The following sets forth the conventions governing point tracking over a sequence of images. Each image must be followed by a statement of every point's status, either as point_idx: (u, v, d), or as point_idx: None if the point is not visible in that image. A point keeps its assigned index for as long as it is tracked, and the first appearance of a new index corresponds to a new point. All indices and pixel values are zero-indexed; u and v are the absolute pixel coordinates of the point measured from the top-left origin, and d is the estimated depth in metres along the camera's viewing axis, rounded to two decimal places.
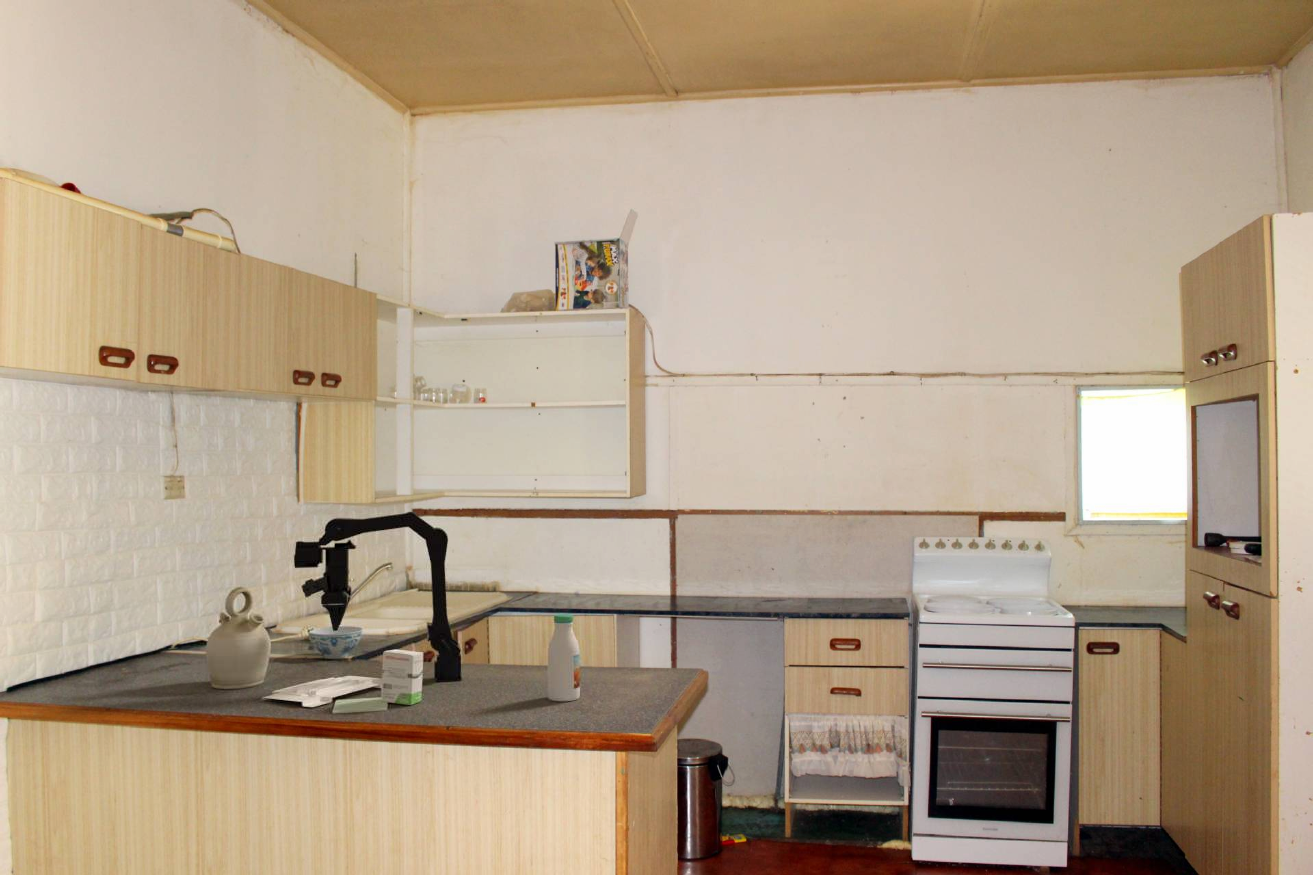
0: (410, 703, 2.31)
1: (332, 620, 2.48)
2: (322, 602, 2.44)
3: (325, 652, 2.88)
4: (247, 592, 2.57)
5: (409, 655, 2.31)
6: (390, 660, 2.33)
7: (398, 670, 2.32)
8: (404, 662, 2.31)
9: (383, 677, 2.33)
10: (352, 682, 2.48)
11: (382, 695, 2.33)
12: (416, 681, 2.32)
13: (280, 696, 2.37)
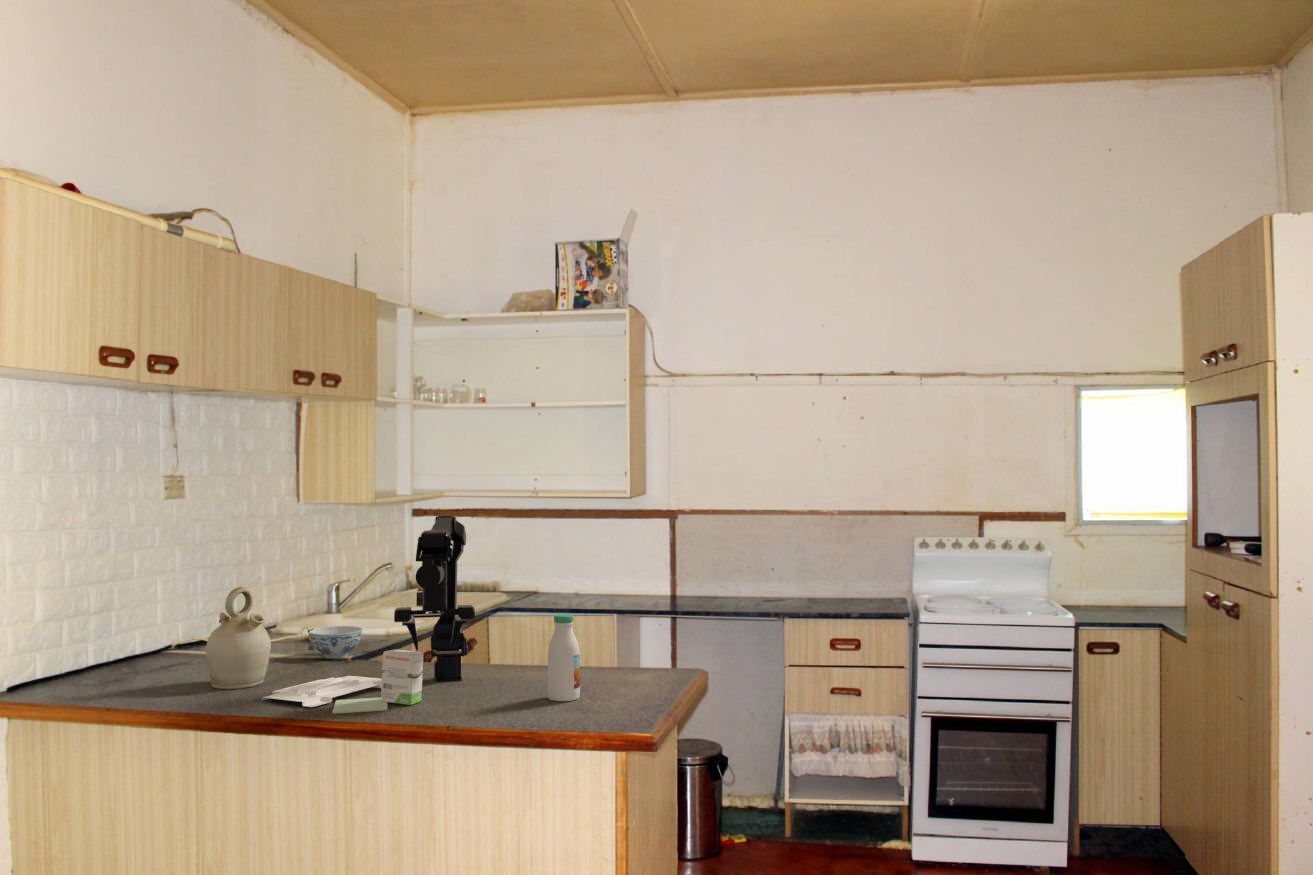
0: (410, 703, 2.31)
1: None
2: None
3: (325, 652, 2.88)
4: (247, 592, 2.57)
5: (409, 655, 2.31)
6: (390, 660, 2.33)
7: (398, 670, 2.32)
8: (404, 662, 2.31)
9: (383, 677, 2.33)
10: (352, 682, 2.48)
11: (382, 695, 2.33)
12: (416, 681, 2.32)
13: (280, 696, 2.37)
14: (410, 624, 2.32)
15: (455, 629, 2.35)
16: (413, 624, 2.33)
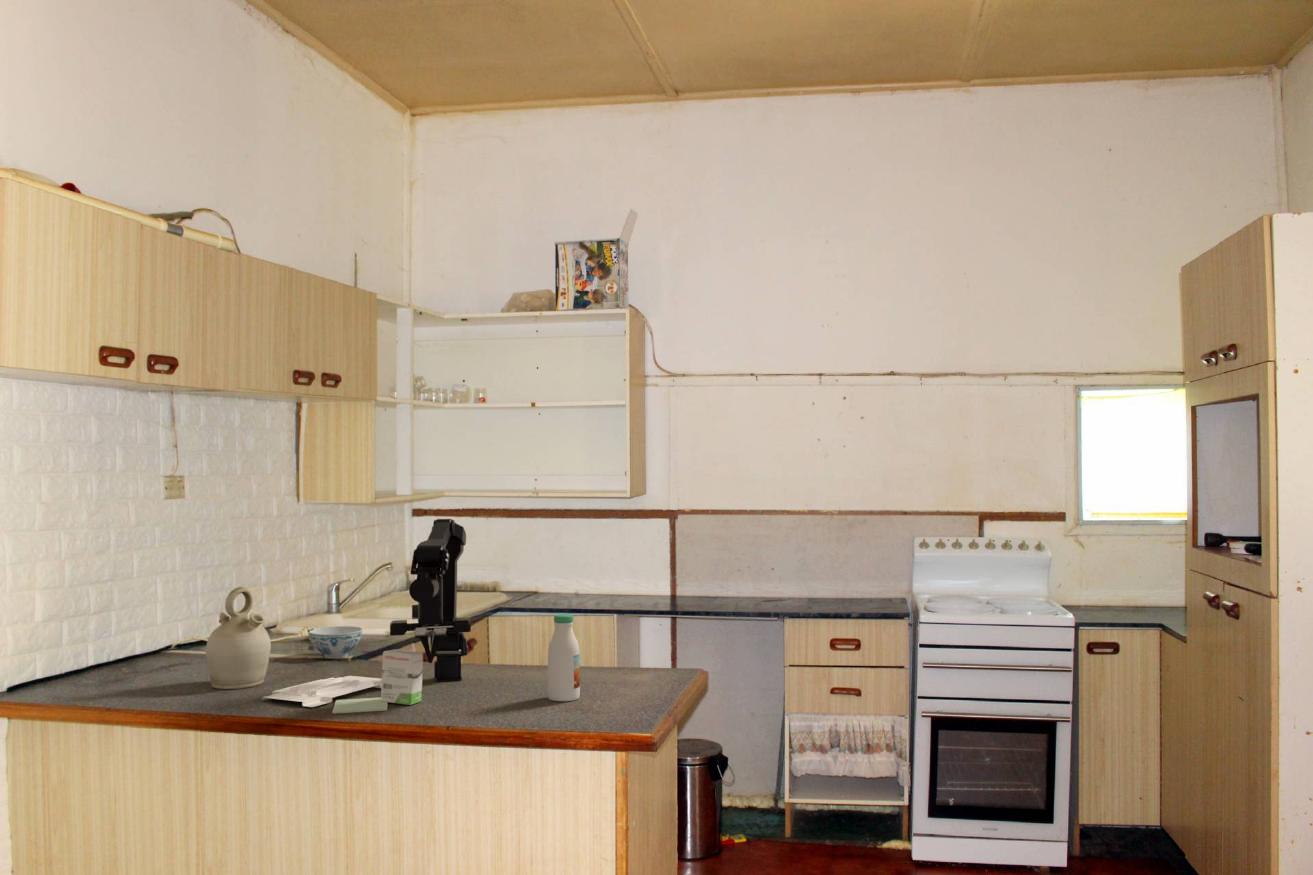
0: (410, 703, 2.31)
1: None
2: None
3: (325, 652, 2.88)
4: (247, 592, 2.57)
5: (409, 655, 2.31)
6: (390, 660, 2.33)
7: (398, 670, 2.32)
8: (404, 662, 2.31)
9: (383, 677, 2.33)
10: (352, 682, 2.48)
11: (382, 695, 2.33)
12: (416, 681, 2.32)
13: (280, 696, 2.37)
14: (423, 637, 2.33)
15: (434, 643, 2.34)
16: (426, 637, 2.33)
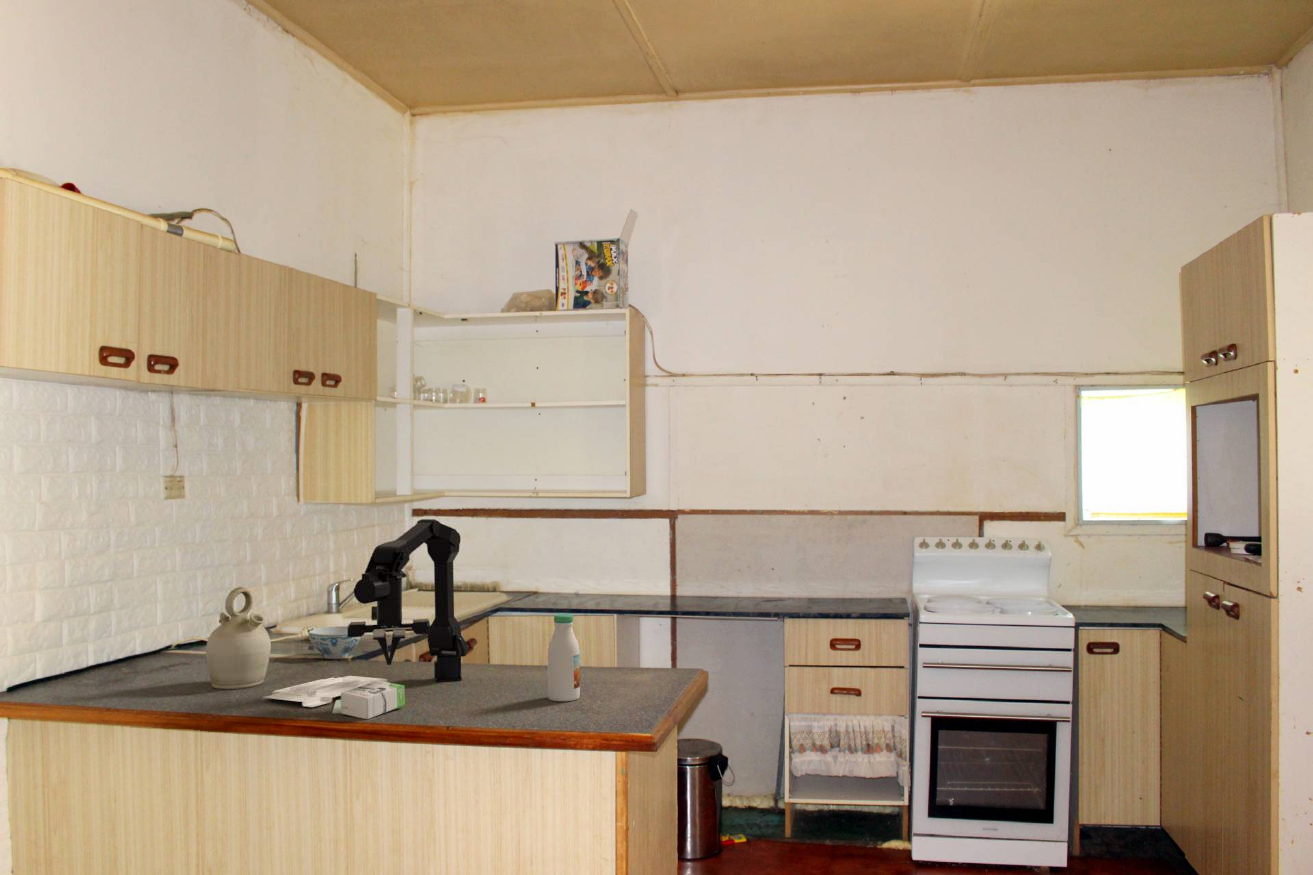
0: (403, 704, 2.28)
1: None
2: None
3: (325, 652, 2.88)
4: (247, 592, 2.57)
5: None
6: None
7: None
8: None
9: None
10: (352, 682, 2.48)
11: None
12: (389, 703, 2.24)
13: (280, 696, 2.37)
14: (381, 638, 2.30)
15: (393, 645, 2.32)
16: (384, 638, 2.31)
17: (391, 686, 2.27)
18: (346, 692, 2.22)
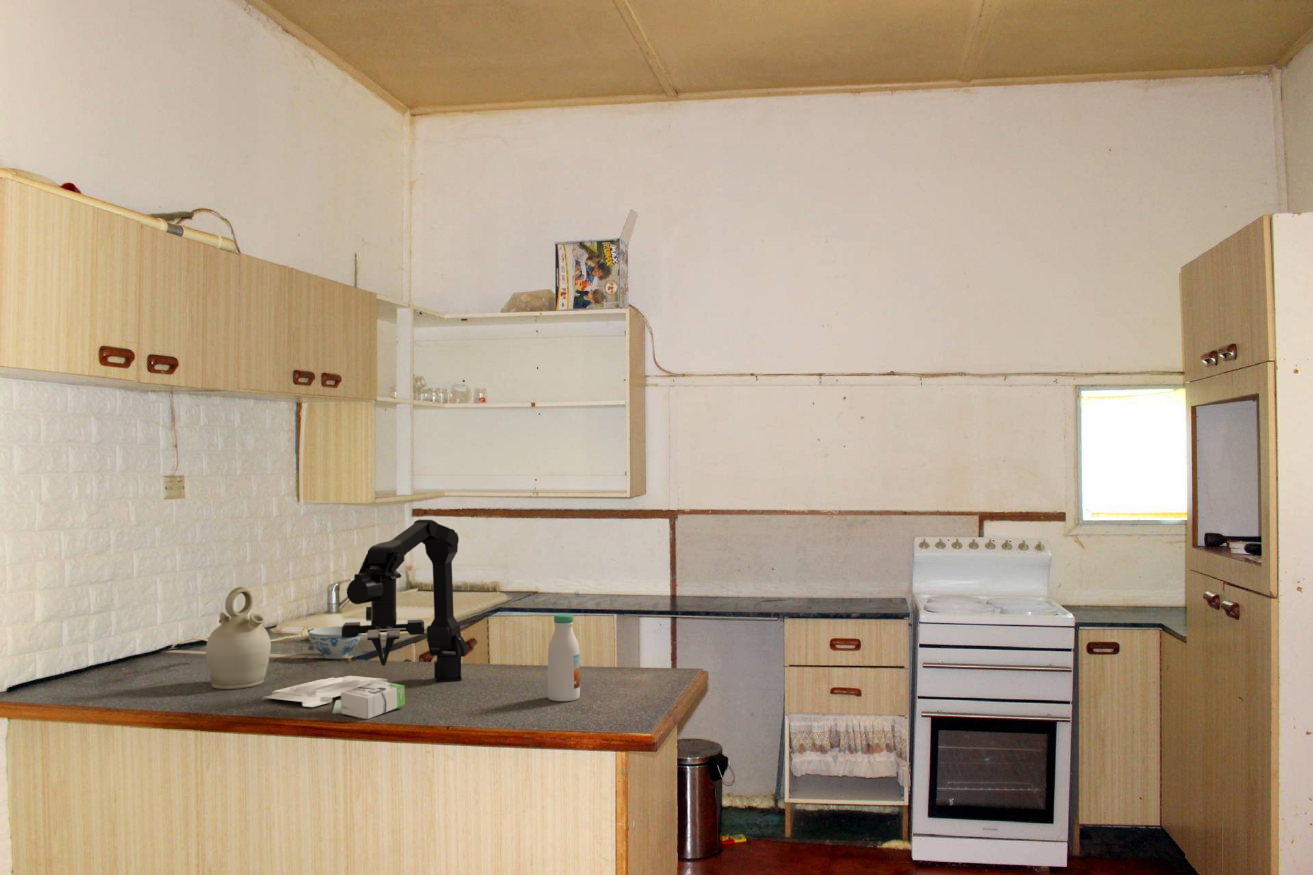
0: (403, 705, 2.28)
1: None
2: None
3: (325, 652, 2.88)
4: (247, 592, 2.57)
5: None
6: None
7: None
8: None
9: None
10: (352, 682, 2.48)
11: None
12: (389, 703, 2.24)
13: (280, 696, 2.37)
14: (375, 639, 2.30)
15: (387, 645, 2.31)
16: (378, 639, 2.30)
17: (391, 686, 2.27)
18: (346, 692, 2.22)
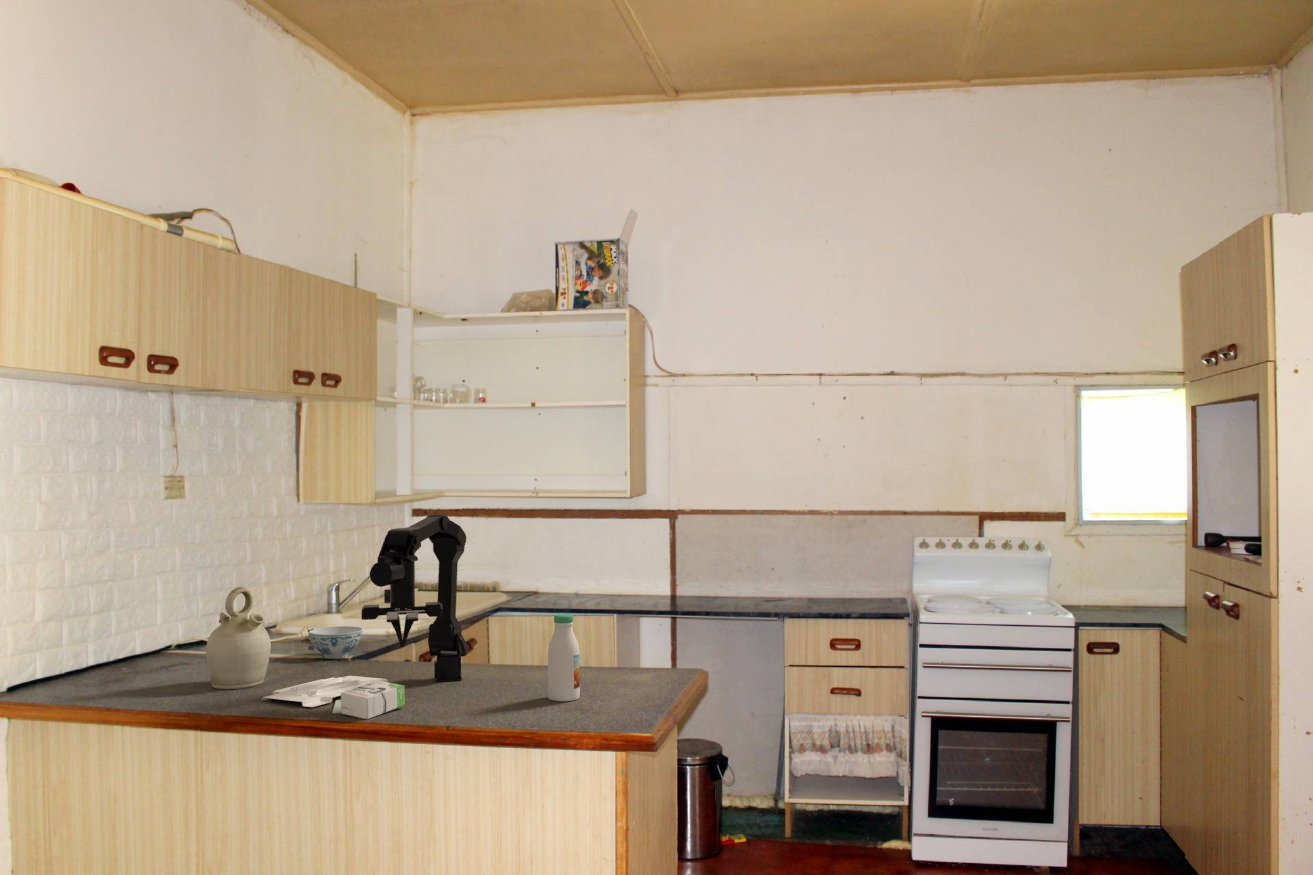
0: (403, 705, 2.28)
1: None
2: None
3: (325, 652, 2.88)
4: (247, 592, 2.57)
5: None
6: None
7: None
8: None
9: None
10: (352, 682, 2.48)
11: None
12: (389, 703, 2.24)
13: (280, 696, 2.37)
14: (395, 621, 2.33)
15: (406, 627, 2.34)
16: (398, 621, 2.33)
17: (391, 686, 2.27)
18: (346, 692, 2.22)
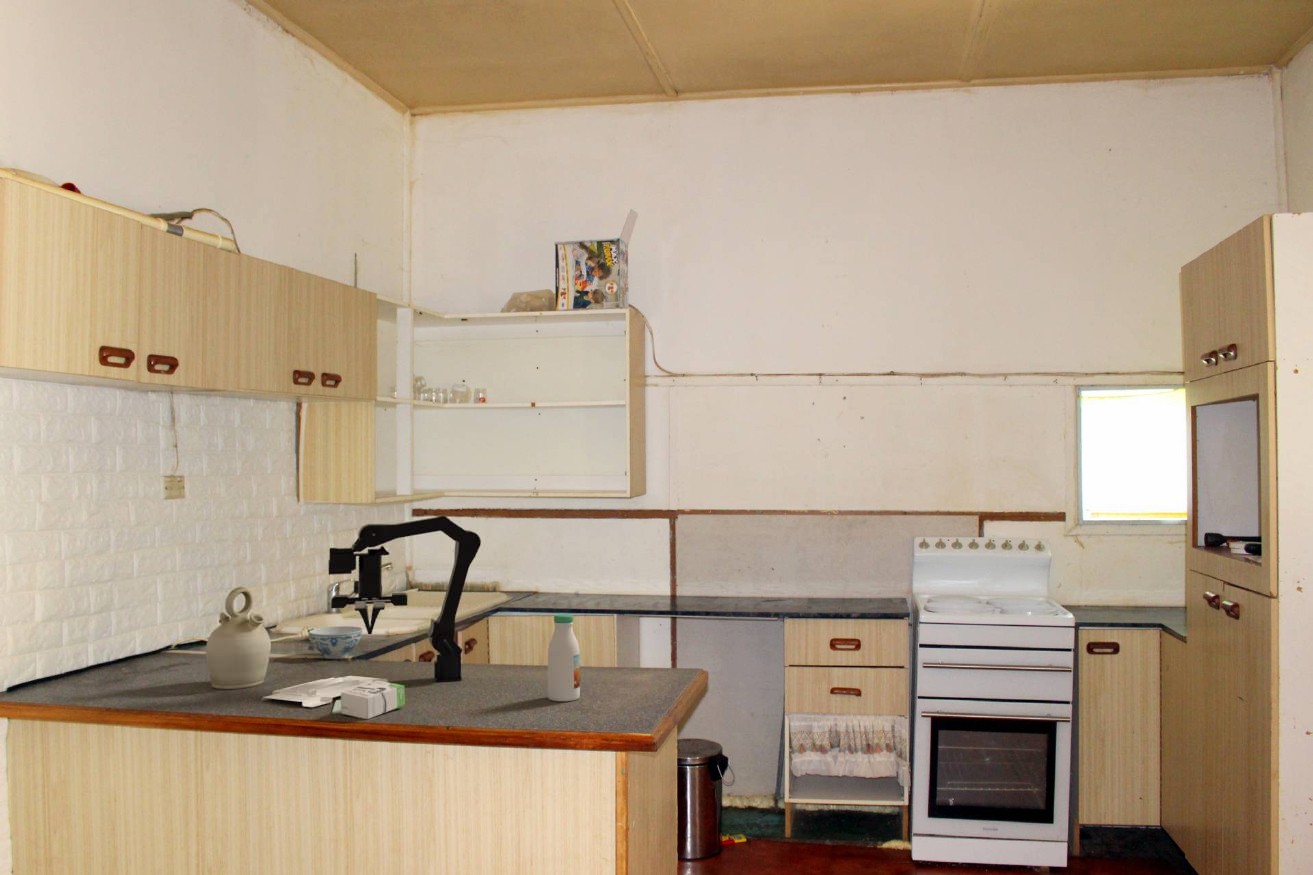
0: (403, 705, 2.28)
1: None
2: None
3: (325, 652, 2.88)
4: (247, 592, 2.57)
5: None
6: None
7: None
8: None
9: None
10: (352, 682, 2.48)
11: None
12: (389, 703, 2.24)
13: (280, 696, 2.37)
14: (362, 609, 2.51)
15: (373, 615, 2.52)
16: (365, 609, 2.51)
17: (391, 686, 2.27)
18: (346, 692, 2.22)
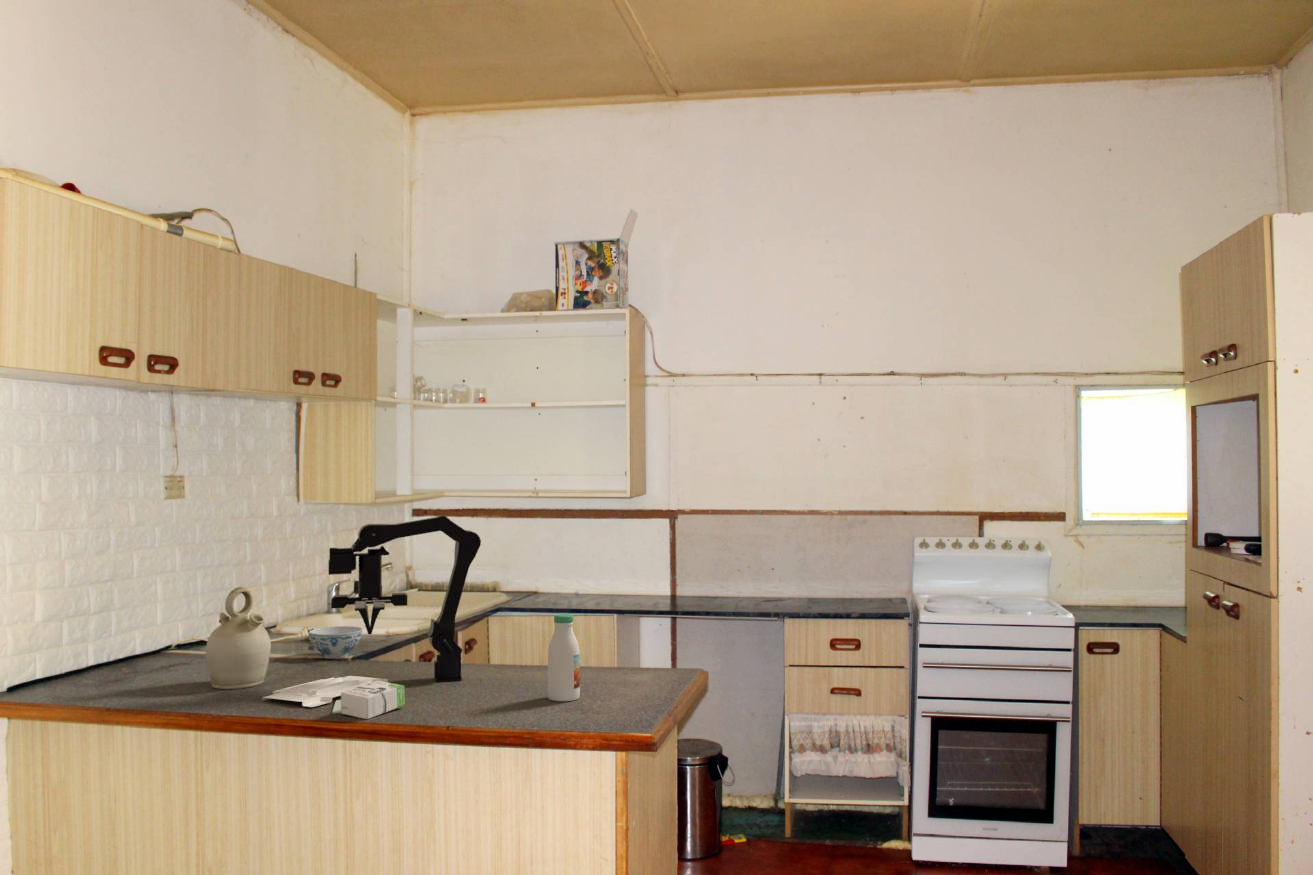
0: (403, 705, 2.28)
1: None
2: None
3: (325, 652, 2.88)
4: (247, 592, 2.57)
5: None
6: None
7: None
8: None
9: None
10: (352, 682, 2.48)
11: None
12: (389, 703, 2.24)
13: (280, 696, 2.37)
14: (362, 609, 2.51)
15: (373, 615, 2.52)
16: (365, 609, 2.51)
17: (391, 686, 2.27)
18: (346, 692, 2.22)
